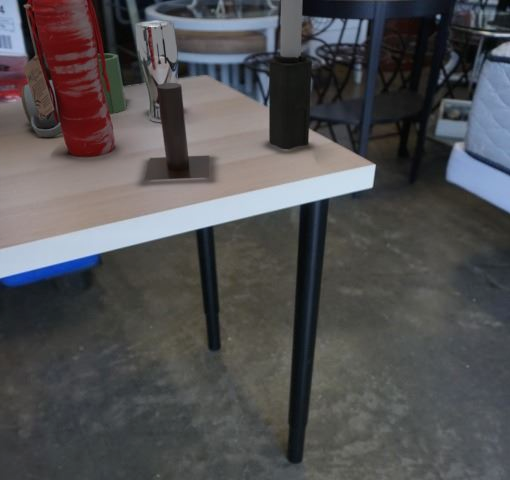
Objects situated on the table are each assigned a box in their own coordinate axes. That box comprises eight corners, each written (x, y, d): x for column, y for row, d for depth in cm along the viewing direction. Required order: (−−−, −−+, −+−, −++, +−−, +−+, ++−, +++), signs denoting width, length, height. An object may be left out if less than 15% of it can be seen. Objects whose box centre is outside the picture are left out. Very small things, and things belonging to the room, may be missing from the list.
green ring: (88, 114, 104) (77, 61, 98) (94, 105, 109) (84, 54, 103) (123, 112, 104) (114, 60, 98) (127, 103, 109) (119, 52, 103)
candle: (284, 159, 82) (288, -48, 66) (266, 151, 86) (265, -49, 69) (311, 153, 84) (320, -50, 68) (291, 144, 88) (296, -51, 71)
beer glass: (168, 125, 97) (157, 27, 87) (139, 120, 100) (125, 25, 90) (191, 115, 102) (182, 21, 92) (163, 111, 104) (151, 19, 94)
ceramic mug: (36, 121, 100) (23, 76, 95) (80, 119, 101) (70, 73, 96) (26, 140, 93) (11, 91, 87) (73, 137, 93) (62, 88, 88)
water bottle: (41, 171, 81) (-19, -39, 64) (49, 153, 87) (-4, -42, 70) (121, 165, 82) (83, -42, 65) (123, 148, 88) (89, -46, 71)
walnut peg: (145, 190, 74) (130, 95, 66) (151, 167, 81) (138, 79, 73) (210, 188, 75) (202, 92, 67) (210, 165, 81) (203, 76, 73)
